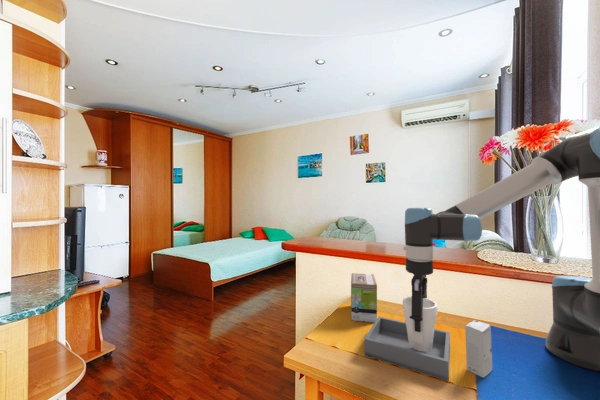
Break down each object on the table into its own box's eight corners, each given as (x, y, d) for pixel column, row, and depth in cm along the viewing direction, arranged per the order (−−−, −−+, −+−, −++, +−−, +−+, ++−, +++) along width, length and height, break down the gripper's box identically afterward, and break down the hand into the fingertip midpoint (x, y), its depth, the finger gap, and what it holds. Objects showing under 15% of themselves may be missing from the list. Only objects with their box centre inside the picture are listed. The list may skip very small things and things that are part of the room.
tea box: (378, 323, 97) (377, 284, 97) (351, 321, 99) (350, 283, 99) (374, 306, 111) (374, 273, 111) (351, 305, 113) (350, 272, 113)
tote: (450, 348, 80) (449, 332, 80) (448, 381, 65) (448, 361, 65) (379, 330, 91) (378, 316, 91) (364, 355, 77) (364, 338, 77)
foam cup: (406, 334, 83) (405, 294, 83) (438, 341, 78) (437, 299, 78) (401, 349, 75) (400, 304, 75) (437, 358, 70) (436, 311, 70)
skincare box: (484, 378, 66) (483, 332, 66) (465, 369, 70) (464, 325, 70) (493, 369, 70) (492, 325, 70) (474, 361, 73) (473, 319, 73)
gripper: (411, 251, 88) (412, 316, 88) (398, 265, 69) (400, 348, 69) (435, 253, 84) (437, 321, 84) (429, 269, 65) (431, 356, 65)
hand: (420, 333), depth 76 cm, fingers closed on foam cup, 9 cm apart
